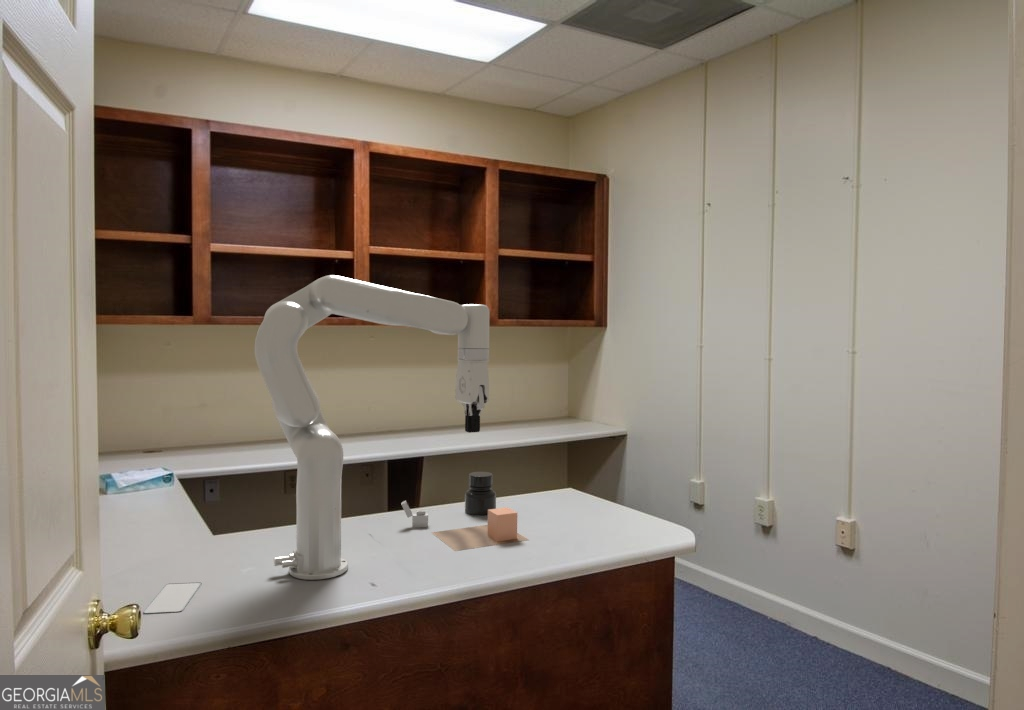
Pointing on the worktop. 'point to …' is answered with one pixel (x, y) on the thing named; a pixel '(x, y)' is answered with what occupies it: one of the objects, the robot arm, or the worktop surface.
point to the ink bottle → (480, 494)
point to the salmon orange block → (502, 524)
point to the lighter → (416, 516)
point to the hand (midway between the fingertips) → (472, 431)
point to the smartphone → (172, 598)
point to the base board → (471, 538)
